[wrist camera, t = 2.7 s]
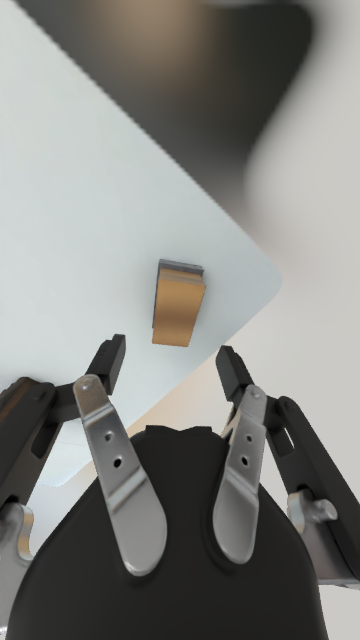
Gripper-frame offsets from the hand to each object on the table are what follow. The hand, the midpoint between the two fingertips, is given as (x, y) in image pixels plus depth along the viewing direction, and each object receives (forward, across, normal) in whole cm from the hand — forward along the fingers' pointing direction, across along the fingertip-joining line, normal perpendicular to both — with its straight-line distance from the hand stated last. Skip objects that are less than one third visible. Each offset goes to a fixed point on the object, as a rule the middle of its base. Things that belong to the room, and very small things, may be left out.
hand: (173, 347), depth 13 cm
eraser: (+9, 0, 0) cm, 9 cm away
